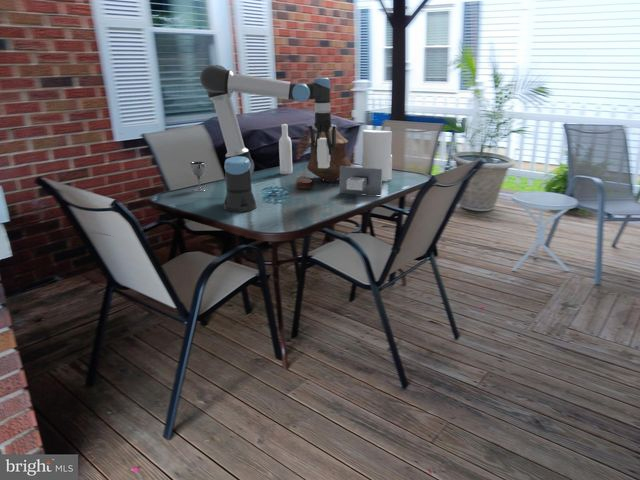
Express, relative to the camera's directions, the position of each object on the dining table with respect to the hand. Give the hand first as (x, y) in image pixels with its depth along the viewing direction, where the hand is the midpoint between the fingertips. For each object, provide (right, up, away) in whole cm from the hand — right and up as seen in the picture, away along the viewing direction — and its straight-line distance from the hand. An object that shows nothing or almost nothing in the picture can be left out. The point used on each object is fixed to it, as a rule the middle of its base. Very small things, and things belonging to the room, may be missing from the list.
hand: (323, 160), depth 237 cm
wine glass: (-68, -12, +28) cm, 74 cm away
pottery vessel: (+3, -4, +48) cm, 48 cm away
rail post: (0, -3, +1) cm, 3 cm away
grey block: (+17, -17, +9) cm, 26 cm away
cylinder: (+32, -3, +49) cm, 58 cm away
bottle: (-23, +3, +67) cm, 71 cm away
